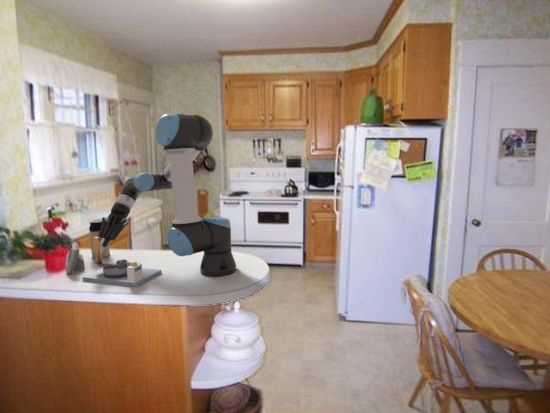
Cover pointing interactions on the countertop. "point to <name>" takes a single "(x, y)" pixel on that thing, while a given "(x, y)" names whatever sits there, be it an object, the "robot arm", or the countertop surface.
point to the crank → (109, 268)
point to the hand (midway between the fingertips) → (98, 253)
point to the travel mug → (94, 232)
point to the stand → (133, 278)
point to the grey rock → (74, 260)
